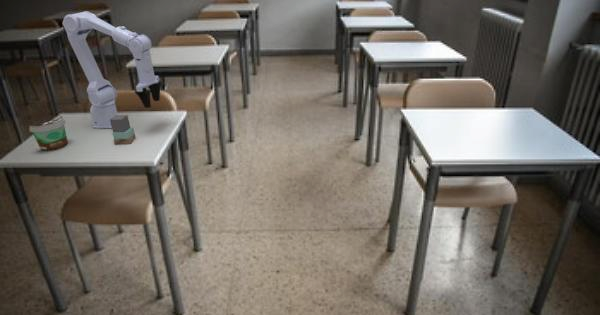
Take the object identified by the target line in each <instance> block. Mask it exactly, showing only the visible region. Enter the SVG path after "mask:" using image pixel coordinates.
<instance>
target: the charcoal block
mask: <svg viewBox="0 0 600 315" xmlns="http://www.w3.org/2000/svg"><path fill="white" fill-rule="evenodd" d="M110 123H111V126H112V128H111V130H112V133H113V132H126V131H127V130H128V129H129V128H130V127H131V125H130V120H129V115H128V114H118V115H115V116H114V117H112V118H111V119H110Z"/></svg>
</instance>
